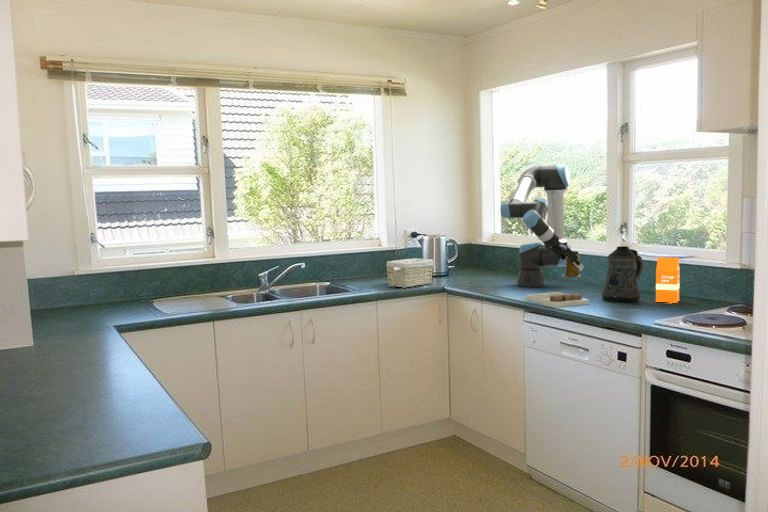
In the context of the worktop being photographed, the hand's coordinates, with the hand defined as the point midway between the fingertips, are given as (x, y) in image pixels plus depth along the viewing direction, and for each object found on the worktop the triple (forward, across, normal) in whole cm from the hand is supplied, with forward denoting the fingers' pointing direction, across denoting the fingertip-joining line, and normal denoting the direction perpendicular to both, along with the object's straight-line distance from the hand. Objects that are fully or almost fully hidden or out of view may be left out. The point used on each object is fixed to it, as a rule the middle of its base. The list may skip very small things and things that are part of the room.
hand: (578, 267), depth 303 cm
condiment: (0, -1, -5) cm, 5 cm away
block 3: (-1, +18, -19) cm, 26 cm away
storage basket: (-32, -73, -52) cm, 96 cm away
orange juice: (+28, +31, +8) cm, 42 cm away
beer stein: (+17, +19, -3) cm, 26 cm away
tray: (-4, +10, -23) cm, 25 cm away
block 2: (-4, +18, -22) cm, 29 cm away
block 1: (-8, +18, -26) cm, 32 cm away
